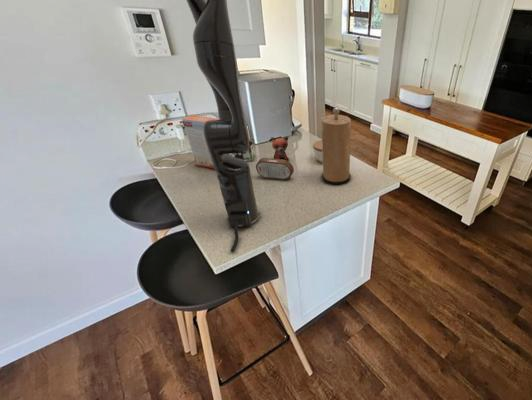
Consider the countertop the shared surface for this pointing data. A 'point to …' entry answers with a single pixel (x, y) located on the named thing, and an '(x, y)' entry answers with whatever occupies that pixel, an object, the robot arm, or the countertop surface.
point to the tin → (274, 168)
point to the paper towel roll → (336, 148)
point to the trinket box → (318, 150)
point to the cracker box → (198, 139)
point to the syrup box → (248, 152)
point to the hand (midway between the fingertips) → (240, 162)
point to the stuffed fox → (280, 147)
